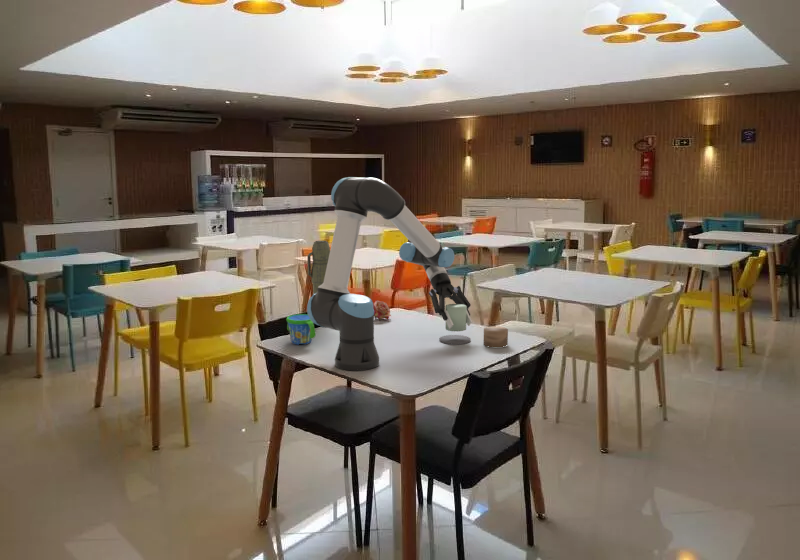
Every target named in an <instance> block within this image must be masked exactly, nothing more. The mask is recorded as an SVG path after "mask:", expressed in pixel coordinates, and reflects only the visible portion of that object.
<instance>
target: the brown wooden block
mask: <svg viewBox="0 0 800 560" xmlns="http://www.w3.org/2000/svg"><path fill="white" fill-rule="evenodd" d="M508 337H509V329H508V328H507V327H504V326H497V325H495V326H486V327H484V328H483V346H484V345H485V346H484V347H486V346H489V347H488V348H490V347H503V346H506V345H508V344H509V343H508V341H509V338H508ZM506 347H507V346H506ZM503 348H504V347H503Z"/></svg>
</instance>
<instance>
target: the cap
mask: <svg viewBox="0 0 800 560" xmlns="http://www.w3.org/2000/svg"><path fill="white" fill-rule="evenodd" d="M466 310H467V306H466V305H463V304H456V303H449V304H445V311H447V312H448V314H449V316H450V318H451V320H452V322H453V324H454V325H453V326H452V328H451V329H449V327H448V325H447V323H446V322H445V330H446V331H449V332H464V331H466V330H467V323H466Z"/></svg>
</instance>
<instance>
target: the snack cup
mask: <svg viewBox="0 0 800 560" xmlns="http://www.w3.org/2000/svg"><path fill="white" fill-rule="evenodd" d="M285 320H286V323H287V324H286V329H287V331H288V332H289V336H290V342H291V344H293V345H296V346H300V345H299V344H305V345H308V344H310V343H311V342H312V340H313V339H314V338H315V337H316V334H317V333H316V329H315V323H313V322H312V321H311V319H310V318H309V316H308V313H307V314H306V313H299V314H290V315H288V316H287V317H286V319H285Z"/></svg>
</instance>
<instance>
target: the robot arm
mask: <svg viewBox="0 0 800 560" xmlns="http://www.w3.org/2000/svg"><path fill="white" fill-rule="evenodd" d="M330 194H331V195H330V197H331V198H330V199H331V201H332V205H333V206H334V210H333V211H334V214H335V215H336V222H335V227H334V232H333V236H332V240H331V246H330V254H329V259H328V264H327V268H326V273H325V278H324V282H323V284H322V285H320V286H318V290H317V293H315V294H313V293H312V296H310V298H309V299H308V302H307V304H306V311H307V314H308V316H309V318H310V319H311V321H312V322H313V324H314V325H316V326H320V327H321V328H324V329H325V328H326V329H331V330H334V331H338V332H339V344H338V347H337V350H336V354H335V358H334V366H335V367H336V368H337V369H340V368H341V369H340V370H345V371H353V372H355V371H356V372H357V371H366V370H367V371H368V370H371V369H374V368H377V367H378V366H379V365H380V356H379V353H378V349H377V347H376V343H375V316H374V309H373V304H374V302H373V300H372V299H371V298H370V297H368V296H366V295H362V294H356V293H351V292H350V290H349V289H348V286H349V281H350V276H351V272H352V266H353V262H354V257H355V253H356V249H357V243H358V239H359V234H360V230H361V224H362V222H364V221H365V220H366V219H367V217H368V213H369V212H373V213H376V214H378V215H380V216H381V217H382V218H383V219H384V220H387V221H390V222H391V223H392V224H393V226H395V227H396V228H397V230H399V231H400V233H401V234H403V235H404V237H405V238H406V239H407V240H408V242H404V243H403V244H402V245H400V246H399V251H398V253H399V258H400V259H401V261H404V262H406V263H411V264H415V265H418V266H422V267H423V269H424V270H425V273H426V275H427V278H428V280H429V282H430V285H431V287H432V288H431V289H430V291H429V292H428V295H429V296H430V299H431V301H432V306H433V310H434V313H435V314H438V315H439V316H441V317H442V320H443V321H445V324H446V323H447V325H448V327H449V329H451V328H452V326H453V325H454V324H453V322H452V320H451V318H450V316H449V314H448V312H447V311H446V301H445V300H446V298H449V300H452V301H453V303H454V304H463V305H466V306H467V310H466V326H467V327H469V326H470V325H472V324H473V320H472V317H471V312H470V311H469V309H470V307H471V303H470V301H469V300H468V299H467V297H466V296H465V294H464V293H463V291H462V289H461V286H460V285H457V286H454V285H453V284H452V282H451V278H450V277H449V274H448V272H447V270H446V268H450V267H451V266H452V265H453V264H454V261H455V252H454V250H453V249H452V248H450V247H447V246H445V247H444V246H443V245H442V244H441V243H440V242H439V241H438V240H437V239H436V238H435V237H434V235H433V234H432V233H431V232H430V231H429V229H428V228H426V226H424V225H423V223H422V222H421V221H420V220H419V219H418V217H416V215H415V214H414V213H413V212H412V211H411V210H410V209H409V208H408V206H406V201H405V199H404V198H403V197H402V195H400V193H399V192H398V191H397V190H395V189H394V188H393V187H392V186H391V185H389V184H388V183H386V182H385V181H384V180H381V179H380V178H376V177H357V176H348V177H343V178H341V179H339V180H337V181H336V183H334V186H333V187H332V189H331V192H330Z"/></svg>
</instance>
